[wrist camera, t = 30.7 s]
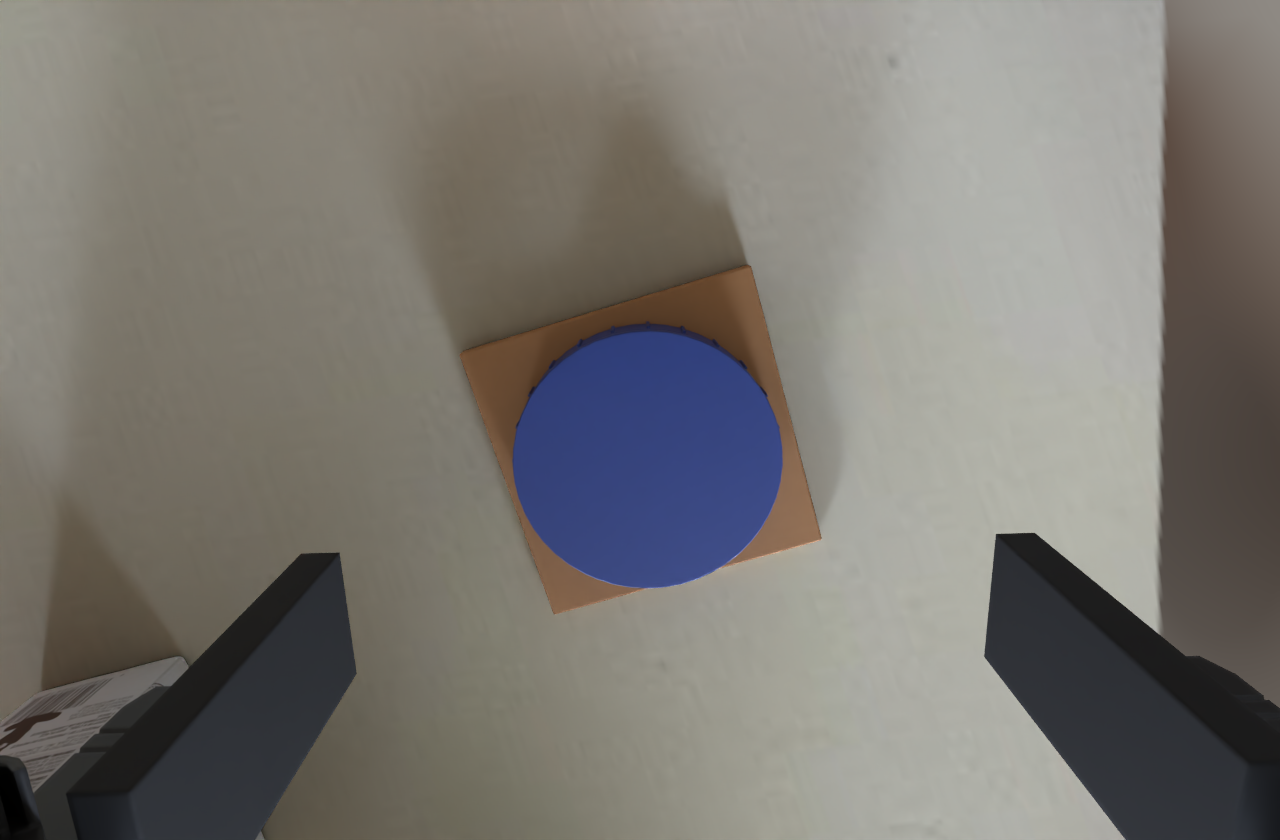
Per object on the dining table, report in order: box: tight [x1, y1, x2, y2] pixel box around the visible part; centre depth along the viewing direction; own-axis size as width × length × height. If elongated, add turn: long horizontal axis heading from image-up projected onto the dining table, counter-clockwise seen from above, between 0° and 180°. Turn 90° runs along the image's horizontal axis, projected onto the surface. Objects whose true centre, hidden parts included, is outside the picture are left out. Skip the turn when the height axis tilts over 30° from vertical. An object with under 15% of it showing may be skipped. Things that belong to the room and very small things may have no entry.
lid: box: [512, 321, 783, 588], centre depth 26 cm, size 9×9×2 cm
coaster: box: [460, 265, 821, 614], centre depth 27 cm, size 10×10×1 cm
